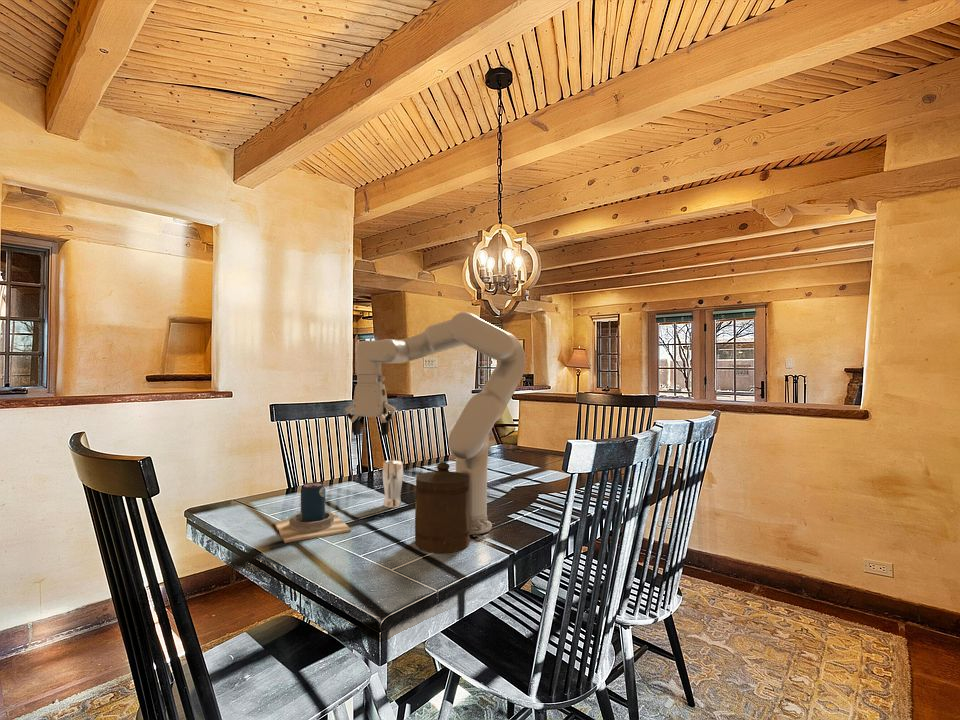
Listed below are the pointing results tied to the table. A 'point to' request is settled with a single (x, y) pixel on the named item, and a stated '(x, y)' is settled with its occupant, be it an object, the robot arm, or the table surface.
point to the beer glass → (392, 482)
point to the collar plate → (309, 535)
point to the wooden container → (442, 511)
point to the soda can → (312, 502)
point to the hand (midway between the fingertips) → (370, 434)
